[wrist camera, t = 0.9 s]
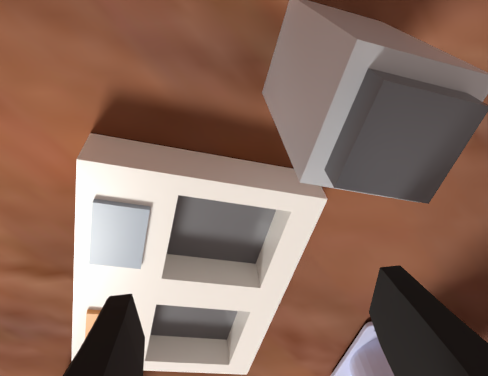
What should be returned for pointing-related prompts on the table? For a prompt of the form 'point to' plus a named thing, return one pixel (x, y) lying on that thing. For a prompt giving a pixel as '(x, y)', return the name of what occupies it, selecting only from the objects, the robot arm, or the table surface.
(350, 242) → the table surface
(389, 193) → the plug
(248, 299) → the socket strip
